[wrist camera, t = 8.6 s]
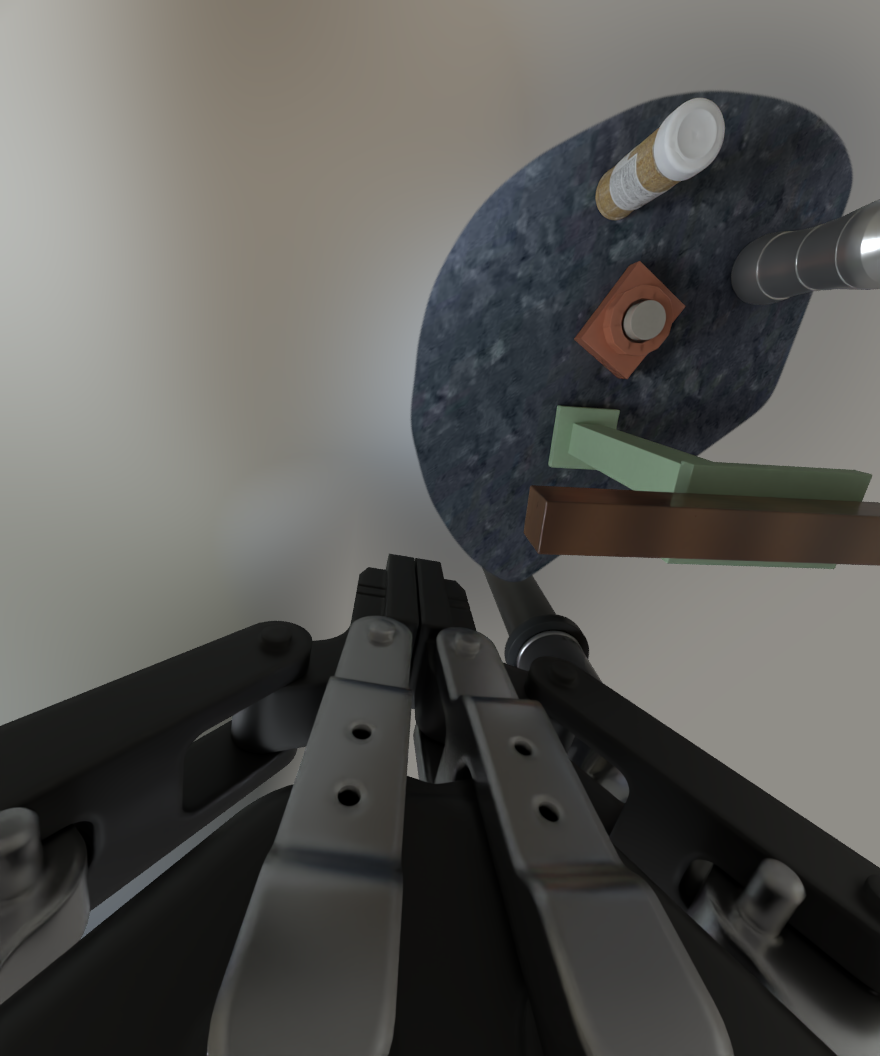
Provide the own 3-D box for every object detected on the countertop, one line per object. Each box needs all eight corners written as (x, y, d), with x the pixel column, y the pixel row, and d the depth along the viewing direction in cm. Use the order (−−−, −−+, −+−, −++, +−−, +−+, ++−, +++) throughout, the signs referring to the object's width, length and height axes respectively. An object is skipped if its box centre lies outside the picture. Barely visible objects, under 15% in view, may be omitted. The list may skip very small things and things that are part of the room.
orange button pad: (618, 378, 52) (635, 380, 49) (573, 339, 50) (587, 337, 47) (674, 308, 50) (696, 304, 46) (629, 264, 48) (649, 257, 45)
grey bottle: (757, 223, 48) (987, 138, 29) (792, 272, 50) (1028, 221, 31) (709, 276, 49) (899, 226, 31) (745, 321, 51) (944, 300, 33)
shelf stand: (531, 464, 55) (665, 571, 27) (540, 404, 53) (696, 455, 25) (619, 468, 56) (832, 576, 28) (631, 410, 54) (877, 466, 26)
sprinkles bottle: (634, 161, 45) (726, 86, 33) (640, 214, 47) (729, 162, 34) (590, 175, 45) (663, 105, 33) (597, 228, 47) (669, 180, 34)
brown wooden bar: (523, 533, 26) (538, 554, 23) (529, 484, 25) (546, 501, 22) (859, 546, 28) (911, 567, 25) (878, 502, 27) (933, 518, 24)
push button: (639, 347, 48) (648, 347, 46) (615, 325, 47) (623, 324, 45) (663, 317, 47) (673, 316, 45) (639, 294, 46) (648, 291, 44)
